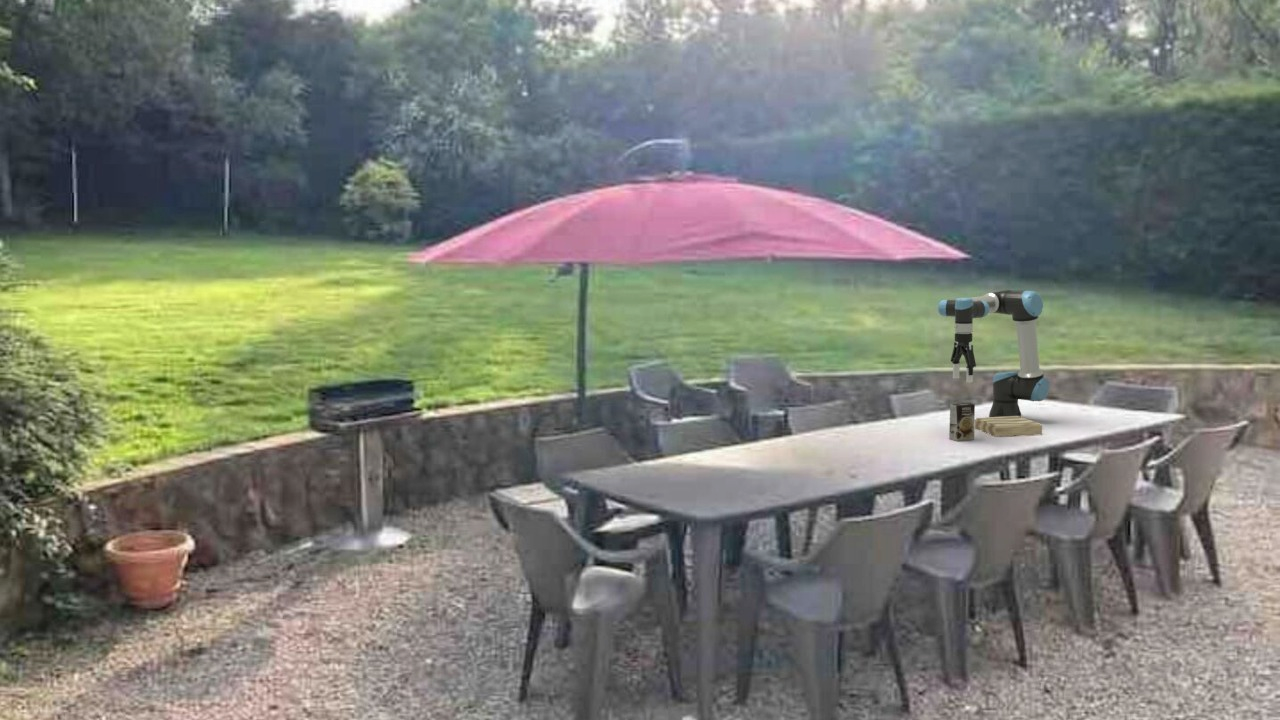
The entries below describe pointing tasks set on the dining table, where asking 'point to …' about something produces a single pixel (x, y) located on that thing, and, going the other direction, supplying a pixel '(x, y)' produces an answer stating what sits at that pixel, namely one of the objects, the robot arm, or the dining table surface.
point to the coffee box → (962, 421)
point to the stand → (1008, 426)
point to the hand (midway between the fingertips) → (962, 380)
